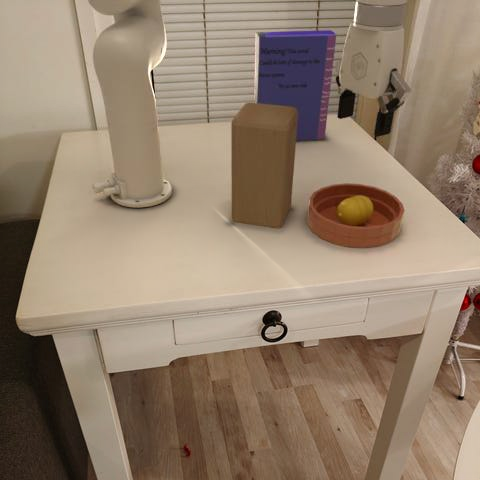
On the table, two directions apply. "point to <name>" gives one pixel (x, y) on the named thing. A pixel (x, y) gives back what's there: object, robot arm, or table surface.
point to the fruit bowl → (362, 236)
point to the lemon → (355, 210)
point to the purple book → (296, 76)
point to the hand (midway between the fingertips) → (362, 125)
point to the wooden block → (263, 163)
